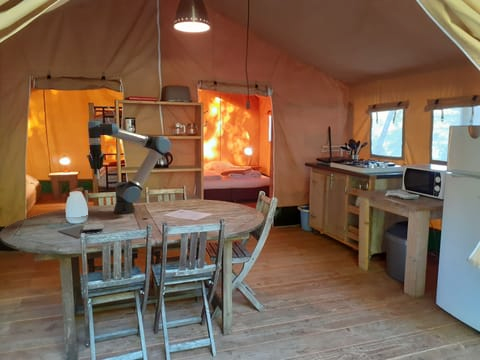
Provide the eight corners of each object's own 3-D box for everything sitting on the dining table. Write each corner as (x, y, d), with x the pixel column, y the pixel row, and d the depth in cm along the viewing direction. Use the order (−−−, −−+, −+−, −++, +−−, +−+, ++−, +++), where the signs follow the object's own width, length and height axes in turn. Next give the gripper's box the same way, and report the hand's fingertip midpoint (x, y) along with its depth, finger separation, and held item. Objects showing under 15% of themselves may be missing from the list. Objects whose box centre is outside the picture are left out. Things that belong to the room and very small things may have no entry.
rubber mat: (82, 226, 242) (82, 225, 242) (102, 231, 230) (102, 231, 230) (58, 231, 230) (58, 230, 229) (78, 238, 217) (78, 237, 217)
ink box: (84, 228, 235) (82, 233, 224) (84, 224, 235) (81, 229, 224) (104, 227, 238) (102, 232, 227) (103, 223, 238) (102, 228, 227)
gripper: (90, 144, 242) (92, 180, 246) (107, 143, 252) (109, 178, 256) (83, 144, 246) (85, 179, 250) (100, 143, 257) (102, 177, 260)
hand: (97, 178), depth 253 cm, fingers closed
